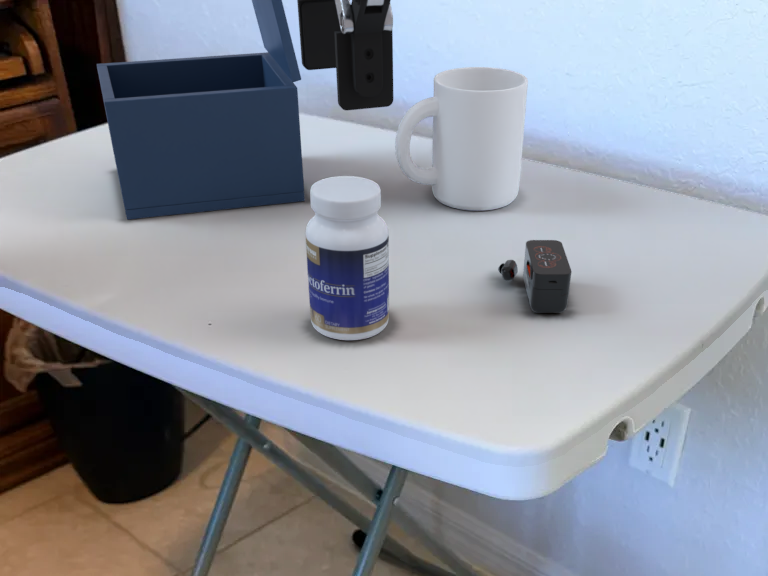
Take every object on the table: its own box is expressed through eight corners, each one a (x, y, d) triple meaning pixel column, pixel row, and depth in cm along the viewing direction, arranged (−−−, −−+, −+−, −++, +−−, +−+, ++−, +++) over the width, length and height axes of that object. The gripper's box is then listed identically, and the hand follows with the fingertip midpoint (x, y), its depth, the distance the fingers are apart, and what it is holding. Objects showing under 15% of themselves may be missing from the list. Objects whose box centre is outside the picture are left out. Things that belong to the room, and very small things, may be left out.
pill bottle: (295, 329, 67) (284, 190, 61) (342, 300, 71) (336, 166, 64) (359, 351, 65) (354, 209, 58) (404, 319, 68) (405, 183, 62)
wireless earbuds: (555, 275, 74) (559, 235, 72) (567, 315, 69) (572, 274, 67) (497, 275, 74) (500, 235, 72) (505, 316, 69) (508, 274, 67)
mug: (408, 221, 83) (408, 97, 76) (383, 189, 89) (381, 73, 82) (532, 207, 86) (542, 87, 79) (499, 177, 92) (507, 63, 85)
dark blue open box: (127, 220, 83) (104, 102, 77) (117, 172, 93) (96, 63, 86) (304, 201, 87) (297, 87, 80) (277, 157, 96) (268, 52, 90)
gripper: (227, -277, 52) (260, 59, 63) (289, -292, 39) (317, 132, 50) (356, -277, 54) (366, 50, 65) (456, -291, 41) (448, 119, 52)
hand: (345, 86), depth 57 cm, fingers open, 9 cm apart
